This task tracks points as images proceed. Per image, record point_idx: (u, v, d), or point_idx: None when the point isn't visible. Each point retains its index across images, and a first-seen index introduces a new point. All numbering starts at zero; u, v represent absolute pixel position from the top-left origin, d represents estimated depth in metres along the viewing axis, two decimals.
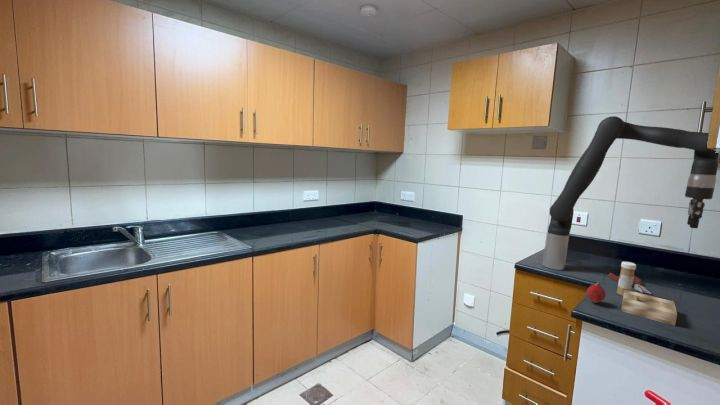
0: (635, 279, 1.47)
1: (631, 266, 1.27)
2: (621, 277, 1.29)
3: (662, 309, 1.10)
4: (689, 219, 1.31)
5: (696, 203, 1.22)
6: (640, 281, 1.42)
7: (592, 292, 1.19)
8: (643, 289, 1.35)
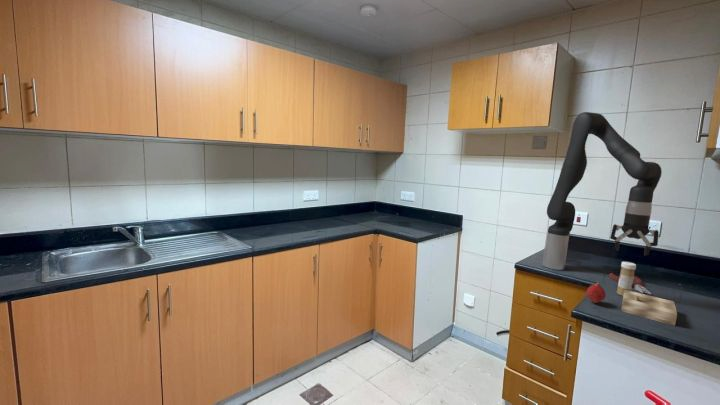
0: (635, 279, 1.47)
1: (631, 266, 1.27)
2: (621, 277, 1.29)
3: (662, 309, 1.10)
4: None
5: (658, 232, 1.22)
6: (640, 281, 1.41)
7: (592, 292, 1.19)
8: (643, 289, 1.35)
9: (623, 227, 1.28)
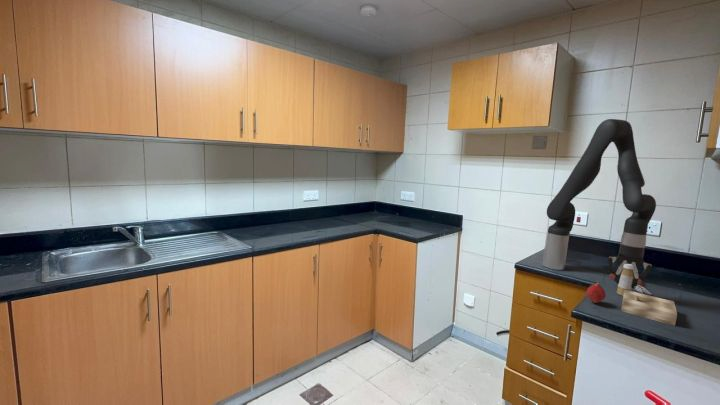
0: None
1: (631, 266, 1.27)
2: (621, 277, 1.29)
3: (662, 309, 1.10)
4: None
5: None
6: (641, 282, 1.41)
7: (592, 292, 1.19)
8: (644, 290, 1.34)
9: (618, 258, 1.30)
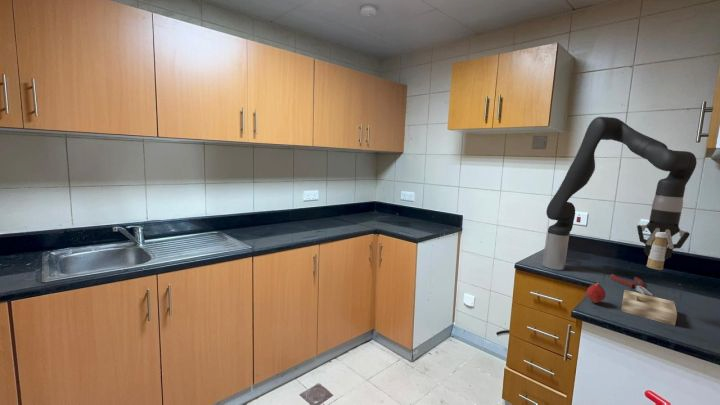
0: (637, 280, 1.46)
1: (665, 234, 1.10)
2: (652, 248, 1.13)
3: (662, 309, 1.10)
4: (649, 249, 1.14)
5: None
6: (642, 282, 1.40)
7: (592, 292, 1.19)
8: (645, 291, 1.34)
9: (649, 226, 1.13)
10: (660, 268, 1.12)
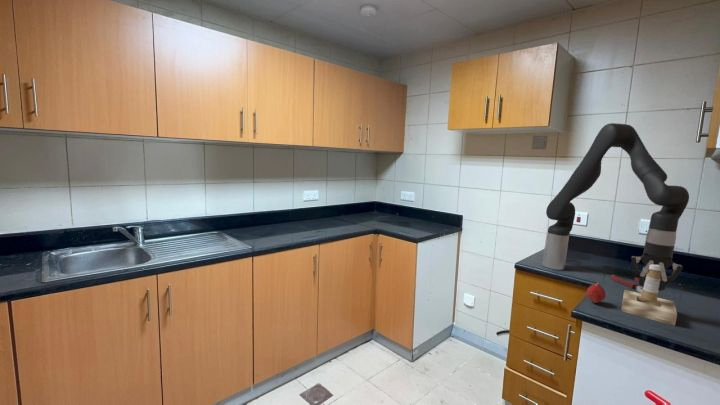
0: (638, 281, 1.45)
1: (658, 267, 1.12)
2: (646, 279, 1.15)
3: (662, 309, 1.10)
4: None
5: None
6: None
7: (592, 292, 1.19)
8: None
9: (643, 258, 1.15)
10: (654, 300, 1.14)
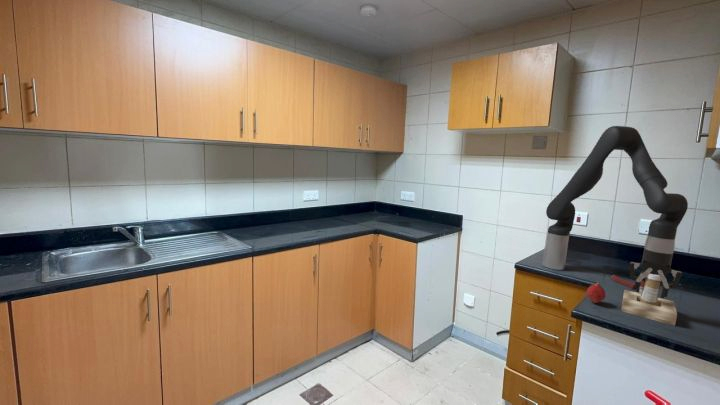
0: None
1: (657, 277, 1.12)
2: (645, 289, 1.15)
3: (662, 309, 1.10)
4: (639, 286, 1.16)
5: None
6: (643, 283, 1.39)
7: (592, 292, 1.19)
8: None
9: (641, 265, 1.15)
10: None
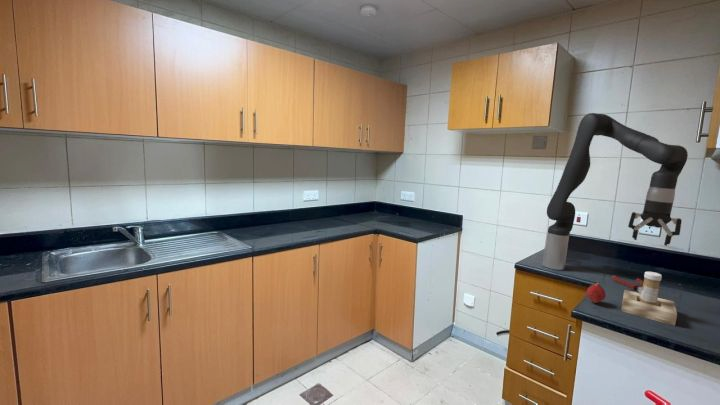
0: (639, 282, 1.44)
1: (656, 277, 1.12)
2: (644, 289, 1.15)
3: (662, 309, 1.10)
4: (637, 234, 1.22)
5: None
6: None
7: (592, 292, 1.19)
8: None
9: (643, 215, 1.20)
10: None
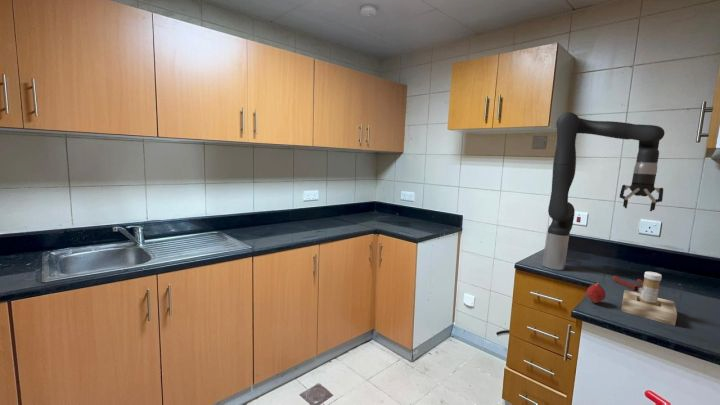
0: (640, 282, 1.43)
1: (656, 277, 1.12)
2: (644, 289, 1.15)
3: (662, 309, 1.10)
4: (627, 203, 1.44)
5: None
6: None
7: (592, 292, 1.19)
8: None
9: (631, 186, 1.42)
10: None
